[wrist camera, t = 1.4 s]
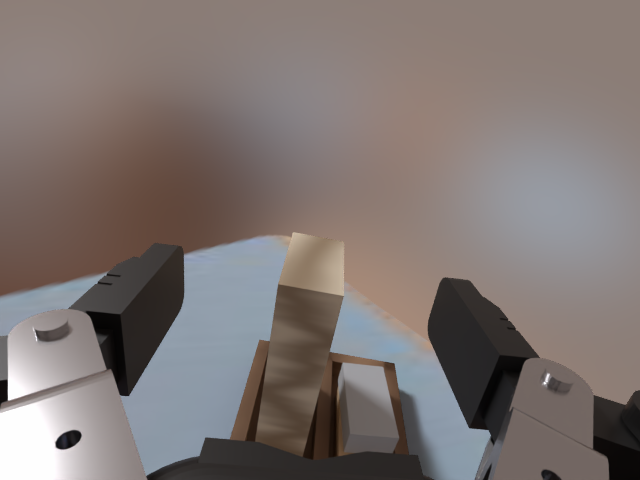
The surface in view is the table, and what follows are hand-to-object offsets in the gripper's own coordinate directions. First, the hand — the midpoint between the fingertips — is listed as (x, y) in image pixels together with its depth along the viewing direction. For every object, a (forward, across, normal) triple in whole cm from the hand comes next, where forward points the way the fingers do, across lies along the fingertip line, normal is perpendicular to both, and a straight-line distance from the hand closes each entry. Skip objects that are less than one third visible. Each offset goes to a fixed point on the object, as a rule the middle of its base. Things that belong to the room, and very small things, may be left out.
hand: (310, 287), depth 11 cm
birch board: (+14, 0, +23) cm, 27 cm away
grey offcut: (+14, -7, +21) cm, 26 cm away
